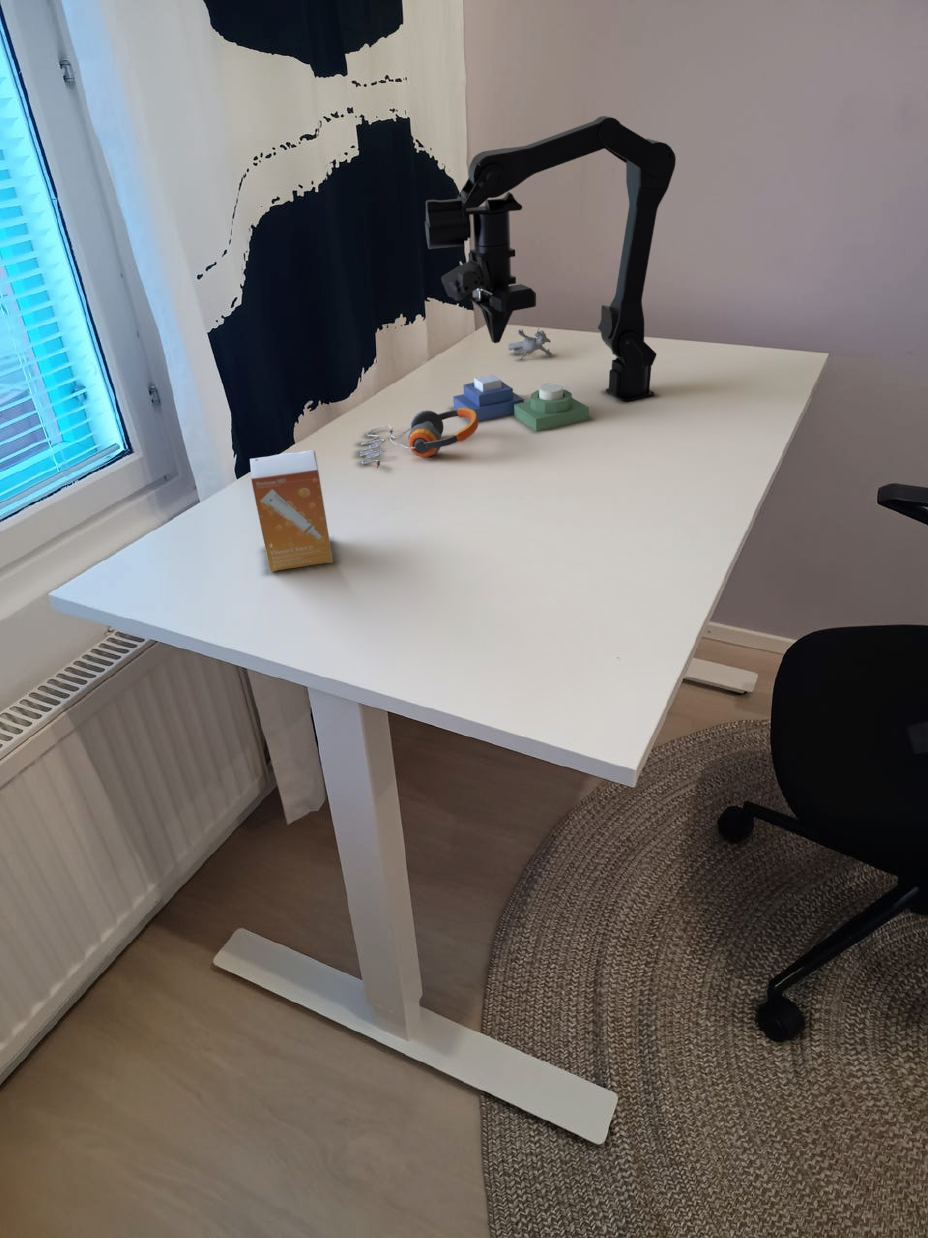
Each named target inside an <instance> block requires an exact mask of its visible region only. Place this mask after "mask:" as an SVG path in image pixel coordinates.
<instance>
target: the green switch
mask: <svg viewBox="0 0 928 1238" xmlns="http://www.w3.org/2000/svg"><path fill="white" fill-rule="evenodd" d="M589 409H590V408H589V406H587V405H586V404H584V403H582V402H581V401H579V400H577V399H576V398H574V397H573V393H572V392H570V391H569V390H567V389H564V388H563V398H562V399H558V400H543V399H540V398H539V389H537V390H535V391H533V392H532V393H530V399H529V400H528V401H524V402H523V403H518V404H514V414H513V415H514V418H516V419H518V421H520V422H522V423H523V424H524V425H526V426H527V427H529V428H531V429H532V431H534V432H540V431H544V430H549V429H554V428H559V427H562V426H566V425H570V424H575V423H580V422H584V421H588V420H589V412H590V411H589Z"/></svg>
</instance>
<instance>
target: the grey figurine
mask: <svg viewBox="0 0 928 1238" xmlns="http://www.w3.org/2000/svg"><path fill="white" fill-rule="evenodd" d="M517 333H518V335H519V336H521V337H522V338H524V339H523V341H518V342H513V343H508V350H509V351H512V350H513V351H512V352H513V354H514V355H517V354H519V353H523V355H522V356H521V358H520V361H522V360H523V359H524V358H525V356H526V355H531V354H533V353H534V352H536V351H538V350H541V351H542V352H543V353H545V354H546V355H547V356H548V357H552V355H553V353H552V352H551V351H550V348H548V349H546V348H545V346H543V345H545V344H546V343H551V341H552V340H551V339H549V337H547V334H546V333H545V331H544V330H540V327H538V328H537V329H536V331H535V333H533V335H534V336H535V337H532V336H528V335H526V334H525V333H524V328H521V329H518V331H517Z"/></svg>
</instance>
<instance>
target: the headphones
mask: <svg viewBox="0 0 928 1238" xmlns="http://www.w3.org/2000/svg"><path fill="white" fill-rule="evenodd" d="M457 417H458V418H465V419H467V418H469V419H471V421H469V422H468V424H466V426H464V427H463V428H462V429H460V430H458V431H457V432H456V433H455V434H454V435H452V436H449V437H446V438H442V435H443V432H444V421H443V420H447V419H451V418H457ZM478 427H479V422H478V417H477V415H476V413H475V411H473V410H472V409H468V408H459V409H458V410H455V409H452V410H448V411H447V410H446V411H444V412H441V413H436V412H435V411H432V410H422V411H419V412H418V413H416V414H415V415H414V417H413V418H412V420H411V422H410V428H408V429H407V430H405V431H404V432H402V433H401V434H399V435H397V436H394V435H393V432H394V431H393V427H392V426H391V425H380V426H377V427H375V428H373V429H370V431H368V432H367V436H368V437H375V438H373V439H370V440H367V441H363V442H361V443H360V444H361V446H363V445H364V446H365V445H368V448H366V449H362V450H360V452H359V453H360V454H359V456H360V457H365V458H363V460H362V461H361V464H363V465H365V464H370V463H375V462H376V469H378V468H379V466H380V465H381V461H380V460H379V459H374V460H370V459H373V458H377V457H380V456H381V453H385V452H386V449H385V448H383V449H378V448H380V447H381V444H383V443H385V442H386V441H385V439H381V438H380V439H379V437H380V436H379V435H378V434H371V433H372V432H374V431H376V430H378V429H380V428H390V430H389V441H390V442H391V443H392V444H394V445H396V446H401V447H403V448H405V449H410V450H411V452H412V453H413V454H414V455H415V456H418V457H420V458H428V457H432V456H435V455H436V454H437V453H438V452H439V451H440V449H441V448H443V447H448V446H450V445H453V444H455V443H458V442H459V443H462V442H463V441H465V440H467V439H468V438H470V437H471V436H472V435H473V434H475V432H476V431H477V429H478ZM408 432H409V433H408ZM406 433H408V438H407V439H408V446H405V445H404V444H401V443H396V442H395V441H393V440H392V438H393V439H398V438H401V437H403V436H404V435H405V434H406ZM374 449H377V450H374ZM366 460H370V461H366Z"/></svg>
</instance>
